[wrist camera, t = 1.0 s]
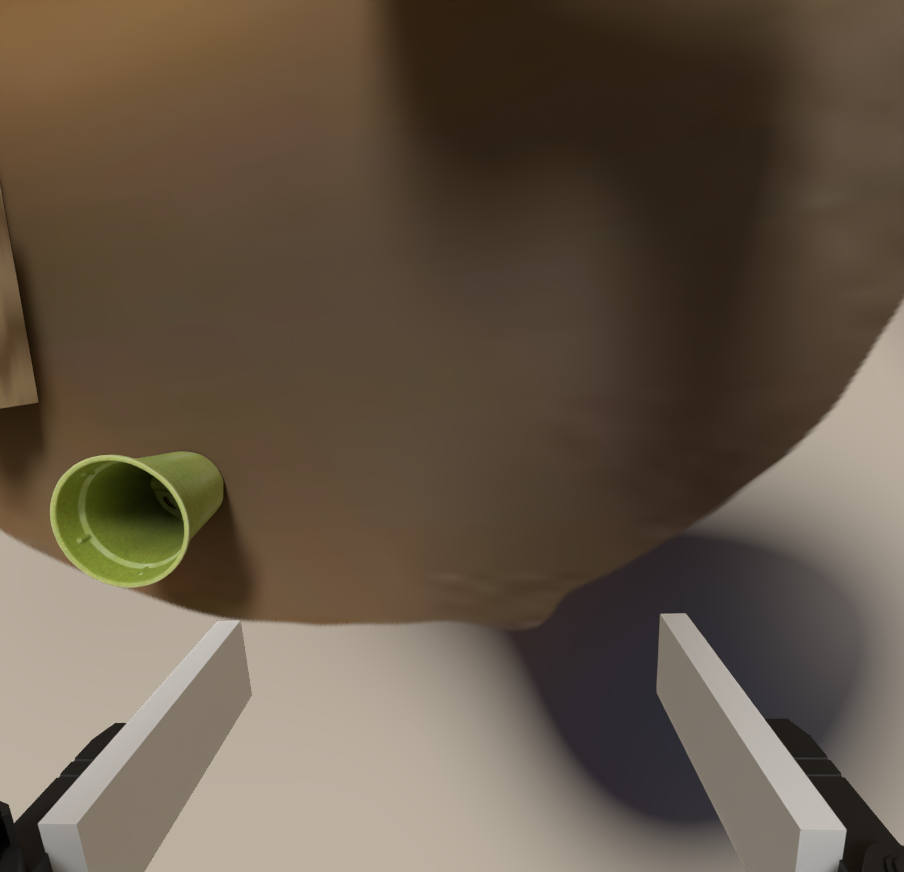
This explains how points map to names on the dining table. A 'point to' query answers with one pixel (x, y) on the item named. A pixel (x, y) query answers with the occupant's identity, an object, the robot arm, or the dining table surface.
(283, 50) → the dining table surface
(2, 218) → the hand plane
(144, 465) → the plant pot
